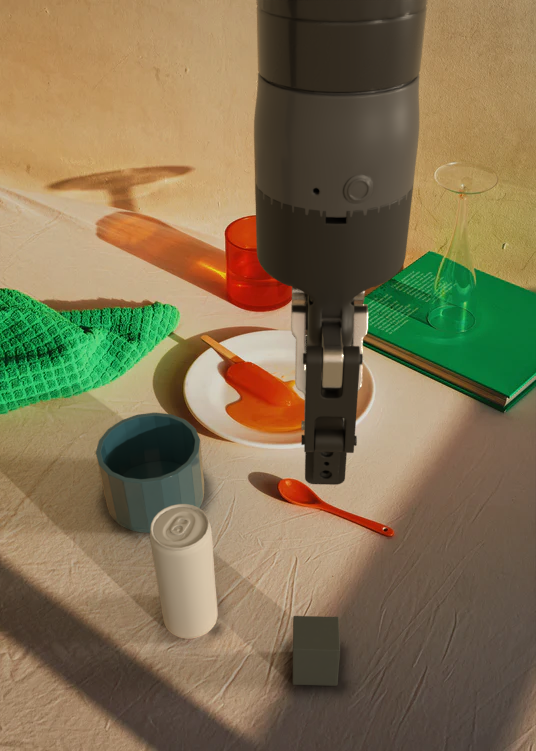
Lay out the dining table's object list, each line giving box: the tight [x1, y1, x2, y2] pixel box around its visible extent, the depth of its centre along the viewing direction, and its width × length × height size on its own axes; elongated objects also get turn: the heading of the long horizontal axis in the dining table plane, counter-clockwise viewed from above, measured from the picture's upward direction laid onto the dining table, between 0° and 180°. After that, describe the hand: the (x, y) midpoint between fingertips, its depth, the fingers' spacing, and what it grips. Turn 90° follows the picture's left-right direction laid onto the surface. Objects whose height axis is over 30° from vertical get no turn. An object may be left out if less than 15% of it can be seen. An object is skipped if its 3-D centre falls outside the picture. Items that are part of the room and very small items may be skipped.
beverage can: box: [149, 504, 219, 640], centre depth 61 cm, size 5×5×12 cm
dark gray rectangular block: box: [292, 615, 341, 687], centre depth 59 cm, size 3×4×5 cm
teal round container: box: [95, 412, 205, 534], centre depth 74 cm, size 10×10×7 cm
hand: (323, 429), depth 45 cm, fingers open, 8 cm apart
